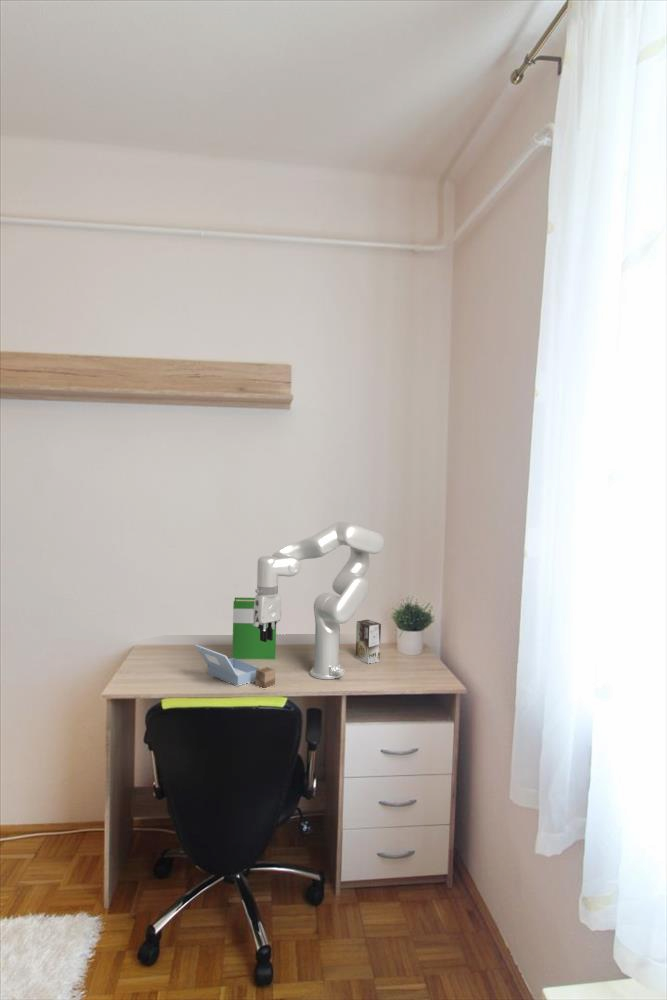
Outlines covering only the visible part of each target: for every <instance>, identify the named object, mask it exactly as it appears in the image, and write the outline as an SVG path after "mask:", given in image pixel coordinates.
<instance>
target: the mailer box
mask: <svg viewBox="0 0 667 1000" xmlns="http://www.w3.org/2000/svg"><path fill="white" fill-rule="evenodd" d="M228 660H229V661H230V663H231V665H232V666H233V668H234V669H235V671H236V673H237V674H238V676H235V675H233V674H230V673H228V672H225V671H223V670H220V669H218V668H215V667H213V666H210V665H208V664H207V675H208V674H209V675H208V676H211V675H212V676H211V677H213V676H214V677H213V678H215V677H217V678H216V679H218V678H219V679H218V680H220V679H222V680H221V681H223V680H225V681H227V682H226V683H228V682H230V683H232V684H235V685H237V686H238V687H240V686H239V685H242V684H245V685H247V684H246V683H248V684H251V683H250V682H252V683H255V682H256V670H257V669H261V668H262V667H259V666H257V665H254V664H251V663H248V662H246V661H243V660H241V659H235V658H232V657H231V658H228ZM225 681H224V682H225ZM254 681H255V682H254ZM230 683H229V684H230ZM232 684H231V685H232ZM235 685H234V686H235ZM237 686H236V687H237ZM242 686H243V685H242Z"/></svg>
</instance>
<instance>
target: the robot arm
mask: <svg viewBox="0 0 667 1000" xmlns="http://www.w3.org/2000/svg"><path fill="white" fill-rule="evenodd" d="M341 546H347V547H350V548H349V549H350V554H349V558H348V559H347V562H345V564H344V565H343V567H342V569H340V571H339V573H338V574H337V575H336V576H335V578H334V580H333V582H332V586H331V587H332V590H333V591H334V592H335V594H338V595H340V596H338V595H335V594H333V593H329V592H325V593H323V592H322V593H321V594H319V595H318V596H316V598H315V599H314V601H313V613H314V614H313V615H314V623H315V626H314V627H315V631H314V633H315V634H314V662H313V663H314V664H313V665H314V666H313V667H312V668H311V669H310V671H309V675H310V676H311V677H312V678H316V679H321V680H335V678H336V679H338V678H339V679H340V678H341V677H343V675H344V674H345V672H346V670H345V669H344V668H342V665H341V663H340V636H341V628H340V624H345V623H347V622H348V621H350V620H351V619H352V618H353V616H354V615H355V613H356V612H357V611H358V610H359V609H360V607H361V605H362V604H363V603H364V602H365V600H366V598H367V596H368V593H369V589H370V588H369V582H368V580H367V579H366V578H365V577H364V576H365V575H366V573H367V571H369V570H368V569H369V567H370V554H372V555H376V554H379V553H381V552H382V551H383V549H384V547H385V539H384V537H383V535H382V534H380V533H379V532H376V531H374V530H370V529H368V528H366V527H362V526H360V525H357V524H354V523H349V522H342V521H339V522H334V523H333V524H332V525H329V526H328V527H327V528H324V529H323V530H321V531H319V532H317V533H316V534H314V535H312V536H311V537H308V538H305V539H302V540H299V541H295V542H293V543H290V544H288V545H285V546H284V547H282V548H280V549H279V550H277V551H275V552H274V553H273V554H272V555H264V556H259V557H258V559H257V568H256V569H257V574H256V577H257V579H256V582H257V583H256V589H255V590H254V591H255V593H256V595H255V597H254V598H255V602H254V612H253V619H254V622H253V626H256V627H258V628H259V630H260V641H263V642H267V639H268V640H271V641H272V640H273V629H274V628H275V625H276V626H277V623H279V622H280V621H281V619H282V601H281V595H280V593H279V590H278V589H279V577H294V576H296V575H298V574H299V572H300V571H301V569H302V564H301V562H300V561H303V560H308V559H318V558H322V557H324V556H326V555H327V554H329V553H330V552H332V551H333V550H335V549H337V548H339V547H341ZM258 621H259V624H258ZM266 623H267V628H266ZM262 624H263V626H262Z"/></svg>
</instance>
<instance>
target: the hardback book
mask: <svg viewBox="0 0 667 1000" xmlns="http://www.w3.org/2000/svg"><path fill="white" fill-rule="evenodd" d="M254 602H255V597H234V600H233V610H232V611H233V612H232V613H233V615H232V649H231V650H232V654H231V656H232V657H231V658H235V659H238V660H276V653H277V651H276V650H277V649H276V648H277V647H276V646H277V624H276V625H275V628H274V629H273V640H272V641H271V640H268V639H267V642H263V641H260V630H259V628H258V627H256V626H253V622H254V619H253V612H254ZM258 624H259V621H258ZM262 626H263V624H262ZM266 628H267V623H266Z"/></svg>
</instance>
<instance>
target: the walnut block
mask: <svg viewBox="0 0 667 1000" xmlns="http://www.w3.org/2000/svg"><path fill="white" fill-rule="evenodd" d="M260 668H261V669H257V670H256V681H255V687H257V686H259V687H258V688H260V687H262V688H267V687H270V686H273V685H275V686H276V669H273V668H270V667H267V666H265V667H260ZM262 688H261V689H262Z"/></svg>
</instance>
